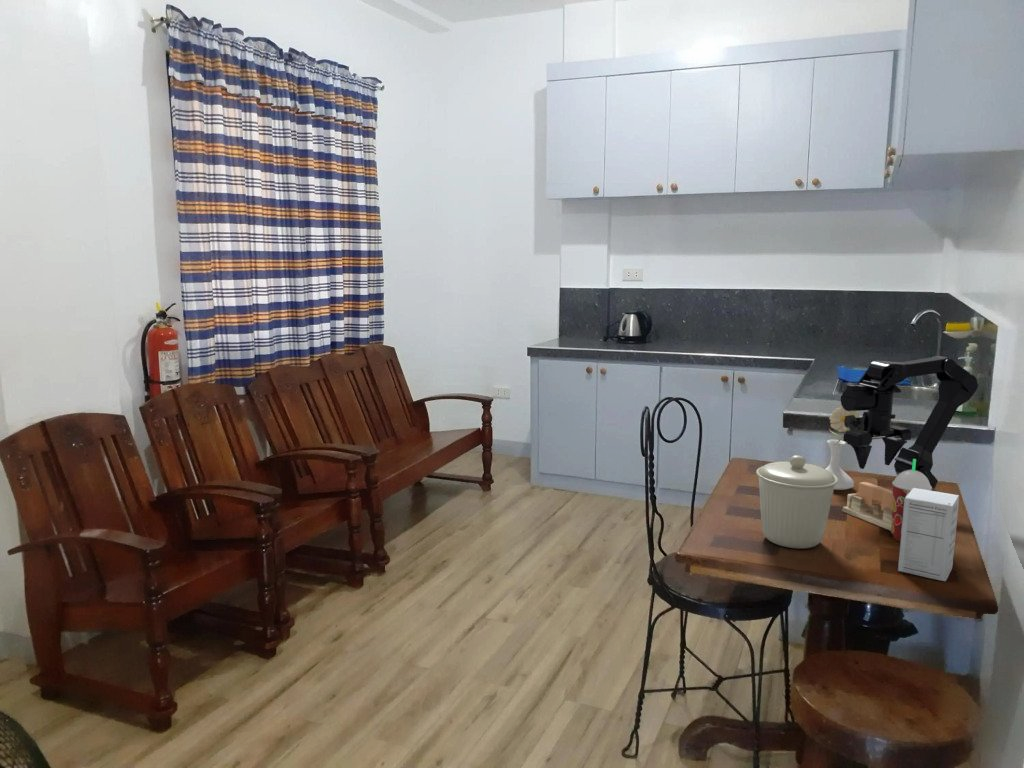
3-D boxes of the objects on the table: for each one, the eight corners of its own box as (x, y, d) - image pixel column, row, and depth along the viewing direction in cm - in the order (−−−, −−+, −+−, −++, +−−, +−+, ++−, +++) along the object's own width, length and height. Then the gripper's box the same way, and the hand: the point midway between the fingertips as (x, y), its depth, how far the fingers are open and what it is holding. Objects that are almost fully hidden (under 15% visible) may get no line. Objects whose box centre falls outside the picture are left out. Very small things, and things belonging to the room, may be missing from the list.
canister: (833, 534, 185) (840, 451, 181) (831, 561, 169) (839, 470, 165) (756, 523, 192) (761, 442, 188) (747, 547, 176) (753, 460, 172)
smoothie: (925, 548, 176) (934, 466, 173) (885, 541, 180) (894, 460, 177) (926, 537, 184) (934, 457, 180) (888, 530, 188) (895, 452, 184)
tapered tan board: (863, 499, 201) (865, 481, 200) (902, 514, 190) (904, 495, 189) (857, 500, 200) (858, 482, 199) (896, 515, 189) (898, 496, 188)
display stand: (864, 507, 204) (865, 491, 204) (916, 527, 190) (918, 509, 189) (842, 511, 201) (843, 494, 200) (893, 531, 187) (895, 514, 186)
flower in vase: (803, 483, 225) (809, 401, 221) (832, 479, 229) (839, 399, 225) (837, 497, 213) (844, 410, 209) (867, 492, 217) (875, 407, 213)
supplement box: (953, 568, 165) (961, 495, 162) (946, 582, 158) (955, 506, 155) (905, 557, 171) (912, 486, 168) (896, 570, 164) (903, 496, 161)
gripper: (880, 401, 209) (874, 455, 211) (829, 406, 201) (824, 462, 204) (915, 409, 199) (909, 466, 201) (863, 414, 191) (857, 473, 194)
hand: (874, 466), depth 200 cm, fingers open, 9 cm apart
